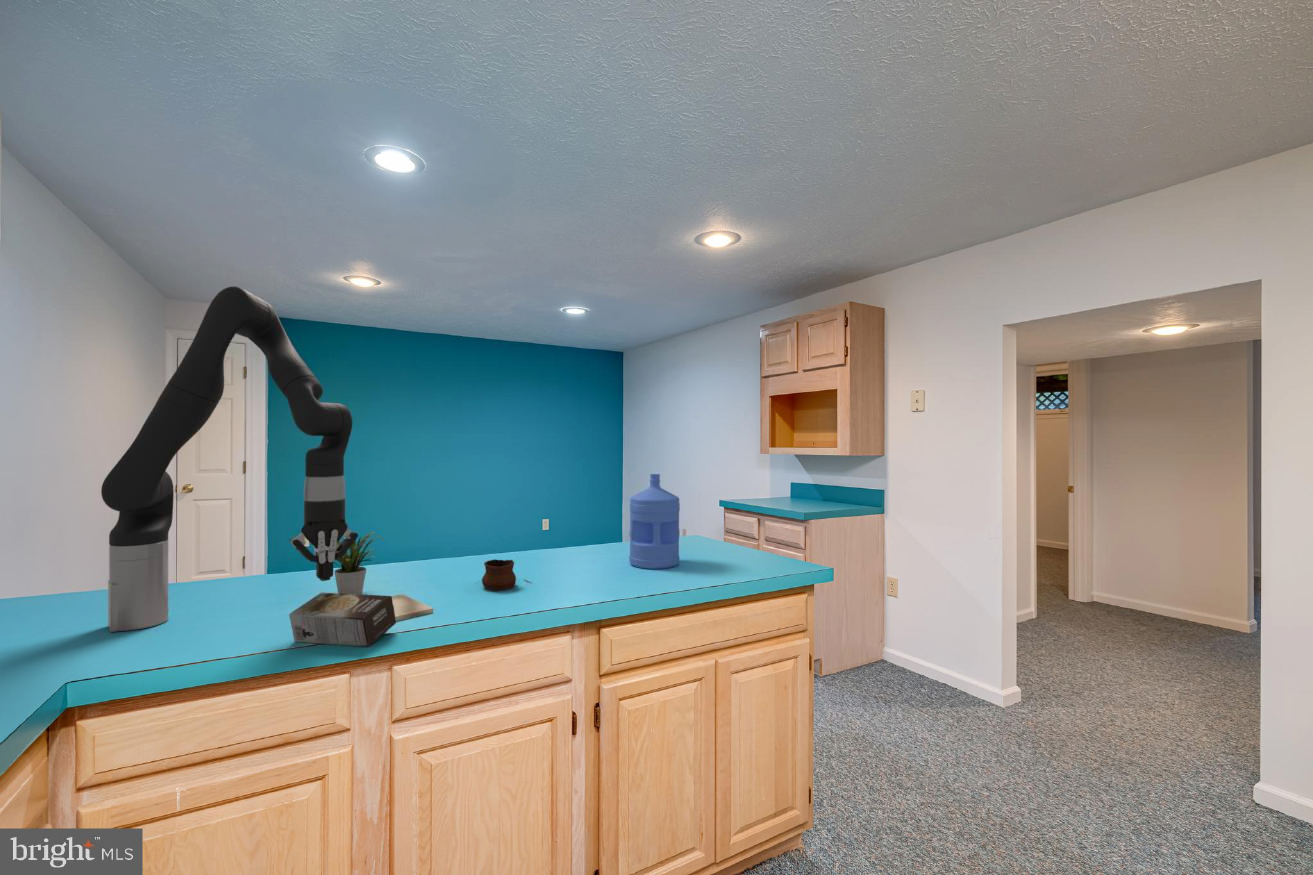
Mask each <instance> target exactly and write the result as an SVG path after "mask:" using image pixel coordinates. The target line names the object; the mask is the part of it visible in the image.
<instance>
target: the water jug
mask: <svg viewBox="0 0 1313 875" xmlns="http://www.w3.org/2000/svg"><path fill="white" fill-rule="evenodd" d="M649 476H650V479H649V487H648V488H646V489H644V490H642V491H640V492H638V493H635V494H634V495H631V497H630V500H629V511H630V512H629V513H630V515H629V517H630V518H629V556H628V558H629V563H630V565H632V566H633V567H635V568H639V569H647V570H663V569H670V568H674V567H676V566H678V565H679V563H680V533H681V532H680V531H681V530H680V510H681V506H680V498H679V496H677V495H675V494H673V493H672V492H670V491H668V490H666V489H663V488H662V487H661V480H660V478H661V474H660V473H650V474H649Z"/></svg>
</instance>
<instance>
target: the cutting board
mask: <svg viewBox="0 0 1313 875" xmlns="http://www.w3.org/2000/svg"><path fill="white" fill-rule="evenodd" d="M391 596H392V602H393V606H394V612H395V619H396V622H399V621H402V620H403V621H404V620H408V619H411V618H417V617H421V616H425V615H429V614H433V613H434V607H431V606H429V605H428V604H425V603H423V602H420V601H418V600H417V599H414V598H412V597H410V596H408V595H405V594H403V593H401V594H398V595H391Z"/></svg>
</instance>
